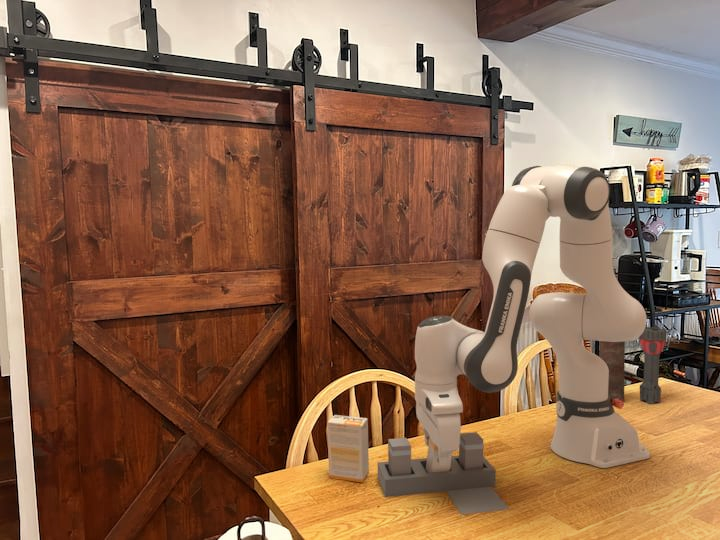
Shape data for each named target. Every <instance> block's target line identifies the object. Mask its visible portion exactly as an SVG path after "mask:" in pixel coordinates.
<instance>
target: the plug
mask: <svg viewBox="0 0 720 540" xmlns="http://www.w3.org/2000/svg"><path fill="white" fill-rule="evenodd" d="M426 455H427V456H426V458H427V462H426V470H427V472H428V473H434V472H445V471H450V465H451V458H452V456H453V452H450V453H449V455H448V464H447V465H446V466H440V465H439V463H438V462H437V455H439V450H438V447H437V445H436V444H435V442H434V441H433V440H432V438H431V437H430V438H429V446H427V454H426Z"/></svg>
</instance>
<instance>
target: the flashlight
mask: <svg viewBox="0 0 720 540" xmlns="http://www.w3.org/2000/svg"><path fill="white" fill-rule="evenodd" d="M638 339H639V342H640V346H641V349H642V352H643V354H644V360H643V361H644V362H643V363H644V364H643V381H642V383H641V384H640V385H639V400H640V401H641V402H644V401H645V402H646V403H647V404H650V405H653V404H655V403H657V404H658V403H661V392H662V387H660V385H659V375H660V374H659V373H660V355H661V354H662V352H663V349H664V348H665V347H664V346H665V342H666V340H667V328H666V327H662V328H661V327H659V326H656V325H655V326H652V327H651V326H648V325H646V327H645V330H644V332H643V333H642V334H641V336H640V337H639V338H638Z"/></svg>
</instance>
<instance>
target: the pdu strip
mask: <svg viewBox="0 0 720 540" xmlns="http://www.w3.org/2000/svg"><path fill="white" fill-rule="evenodd" d="M426 462H427V457H425V458H424V457H423V458H414V459H413V458H411V475H401V476H389V474H388V461H378V462H377V480H378V483H379V485H380V487H381V489H382V493H383V494H384V495H383V496H384V497H385V498H389V497H399V496H408V495H420V494H427V493H428V494H429V493H431V494H432V493H440V492H446V491H450V490H460V489H470V488H481V487H492V488H493V487H496V478H497V477H496V476H497V473H496V472H497V469H496V468H495V467H494V466H493V465H492V464H491V463H490V462H489V461H488V459H487V458H486V457H485V456H484V455H483V468H478V469H467V470H463V469H462V468H461V466H460V465H459V454H458V455H452V458H451V465H450V471H445V472H434V473H428V472H427V470H426Z"/></svg>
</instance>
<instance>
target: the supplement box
mask: <svg viewBox="0 0 720 540" xmlns="http://www.w3.org/2000/svg"><path fill="white" fill-rule="evenodd" d="M368 421H369V420H368V418H367V417H360V416H359V417H358V416H351V415H348V416H347V415H340V414H334V415H333V416H332V417H330V419H329V420H328V421H327V423H326V424H327V449H328V450H327V451H328V454H327V455H328V457H327V458H328V477H329V479H337V480H344V481H349V482H356V483H361V484H362V483H364V482H365V480H366V479H367V477H368V476H369V473H370V465H369V464H370V462H369V456H370V455H369V425H368V424H369V422H368Z"/></svg>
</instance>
